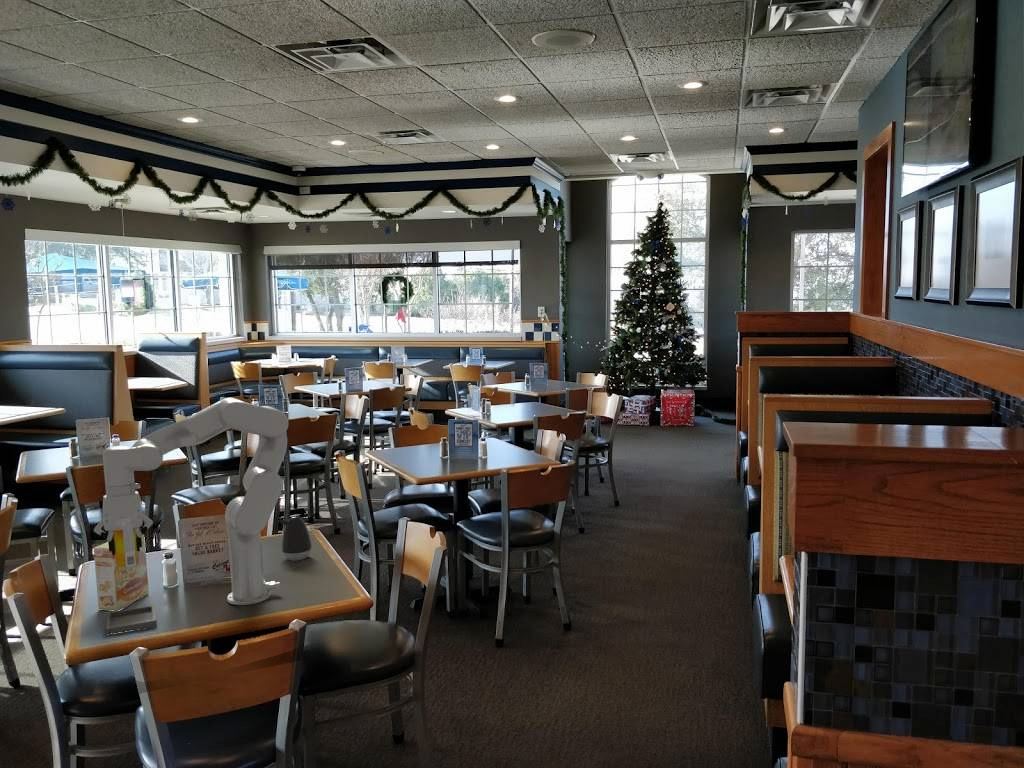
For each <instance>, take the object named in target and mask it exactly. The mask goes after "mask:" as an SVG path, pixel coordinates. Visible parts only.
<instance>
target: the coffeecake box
mask: <svg viewBox="0 0 1024 768" xmlns="http://www.w3.org/2000/svg"><path fill="white" fill-rule="evenodd" d="M141 539H142V547H140V551H138V554H139V563H138V565H137V566H136V567H135V568H132V569H126V570H121V569H118V567H116V561H115V554H114V555H112V551H111V552H109V544H108V541H106V542H104V543H102V544H100V545H97V546H95V547H93V559H94V571H95V581H96V583H95V584H96V592H97V602H98V604H97V605H98V606H97V607H98V610H99V609H102V610H114V611H118V610H120V609H122V608H124V607H126V606H127V607H129V606H130V605H129V604H131V603H132V604H134V603H135V602H134V601H136V600H138V599H139V600H141V599H143V598H144V597H143V596H145V595H146V596H148V595H149V594H148V593H150V590H149V579H148V567H147V554H146V551H147V550H146V541H145V534H143V535H142V537H141ZM147 594H148V595H147ZM146 596H145V597H146ZM142 597H143V598H142ZM140 598H141V599H140ZM139 600H138V601H139ZM133 602H134V603H133ZM136 602H137V601H136ZM132 604H131V605H132ZM128 605H129V606H128ZM127 607H126V608H127ZM124 609H125V608H124ZM122 610H123V609H122Z"/></svg>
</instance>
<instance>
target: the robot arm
mask: <svg viewBox="0 0 1024 768" xmlns="http://www.w3.org/2000/svg"><path fill="white" fill-rule="evenodd" d="M288 428H289V419H288V417H287V415H286V414H285V413H284V412H283V411H281V410H280V409H277V408H275V407H273V406H270V405H262V406H260V405H256V404H252V403H248V402H246V401H242V400H241V399H238V398H235V397H225V398H223V399H220V400H218V401H217V402H215V403H213V404H211V405H209V406H207V407H206V408H203V409H201V410H200V411H198V412H195V413H194V414H192V415H190V416H188V417H185V418H184V419H181V420H179V421H176V422H173V423H171V424H169V425H166V426H164V427H161V428H159V429H157V430H155V431H154V432H151V433H150V434H148V435H146V436H144V437H142V438H140V439H138V440H137V441H135V442H134V443H133V445H132V446H131V447H130V446H128V445H114V446H109V447H105V448H104V449H103V451H102V465H103V475H104V485H105V486H104V487H105V495H103V499H102V519H101V520H100V521H99V522H98V523H97V525H95V527H94V529H93V532H94V533H96V534H97V535H99V536H100V537H102V538H103V539H104V540H106V542H108V544H109V552H111V551H112V555H114V554H115V549H114V539H113V534H114V531H115V527H116V521H117V520H118V519H119V518H126V517H128V518H129V519H131V520H132V524H133V528H135V532H136V534H137V538H136V545H137V551H140V547H142V539H141V537H142V535H145V533H146V532H147V531H148V530H149V528H150V527H151V526H152V525H153V524H154V522H153V520H152V519H151V518H149V517H148V516H147V515H145V514H144V513H143V508H142V501H141V496H140V493H139V491H137V490H138V489H141V483H136V482H135V473H134V472H136V471H137V472H138V471H139V472H140V471H144V472H148V471H154V470H156V469H157V468H159V467H160V466H161V464H162V463H163V460H164V456H165V455H167V454H169V453H171V452H173V451H175V450H177V449H181V448H184V447H192V446H197V445H200V444H203V443H205V442H207V441H208V440H210V439H211V438H214V437H216V436H218V435H219V434H221V433H223V432H225V431H227V430H229V429H232V430H236V431H239V432H243V433H245V434H246V433H247V434H252V435H256V436H258V444H257V447H256V449H255V452H254V454H253V457H252V458H251V461H250V463H249V464H248V467H247V469H246V472H245V473H244V476H243V479H242V485H243V487H244V489H245V490H246V492H245V495H243V496H236V497H234V498H232V500H230V501H229V503H228V504H227V506H226V508H225V512H224V519H225V526H226V531H227V539H228V550H229V551H228V552H229V564H230V579H231V580H230V582H231V592H230V593H229V594H228V595H227V598H226V599H227V602H228V603H229V604H231V605H235V606H247V605H249V606H250V605H254V604H259V603H262V602H264V601H266V600H268V599H269V598H270V596H271V590H278V589H281V583H280V581H278V582H275V580H272V581H268V582H267V581H266V580H265V577H264V576H265V575H264V574H265V573H264V562H263V561H264V560H263V549H262V548H263V544H262V534H261V532H262V531H263V530H264V528H265V527H266V525H267V524H268V522H269V520H270V518H271V515H272V514H273V511H274V509H275V508H276V504H277V503H278V501H279V498H280V497H281V493H282V488H283V482H282V479H281V476H280V474H278V472H279V470H280V468H281V465H282V463H283V460H284V457H285V455H286V453H287V450H288V449H287V448H288V436H287V430H288ZM144 522H145V524H144ZM143 524H144V525H143ZM102 528H103V529H104V530H102ZM107 532H108V533H107Z"/></svg>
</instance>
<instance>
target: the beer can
mask: <svg viewBox="0 0 1024 768" xmlns="http://www.w3.org/2000/svg"><path fill="white" fill-rule="evenodd" d="M136 538H137V534H136V532H135V528H133V524H132V520H131V519H129V518H128V517H126V518H119V519H118V520H117V521H116V527H115V531H114V534H113V539H114V549H115V561H116V567H118V569H121V570H126V569H132V568H135V567H136V566H137V565H138V563H139V554H138V551H137V545H136Z"/></svg>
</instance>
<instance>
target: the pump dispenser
mask: <svg viewBox="0 0 1024 768" xmlns="http://www.w3.org/2000/svg"><path fill="white" fill-rule="evenodd" d="M278 523H281V524H283V525H285V526H284V528H283V533H282V537H281V552H282V554H283V556H284V557H285V558H286V559H287V560H288V561H291V560H292V562H297V561H298V560H299V561H302V560H305V559H306V558H307V557H309V556H310V553H311V549H312V548H313V547H312V539H311V535H310V533H309V532H310V531H309V530H308V527H307V525H306V523H305V521H304V520H303V518H302V517H300V516H297V515H294V516H291V517H290V518H289V519H288V520H283V519H279V521H278Z"/></svg>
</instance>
